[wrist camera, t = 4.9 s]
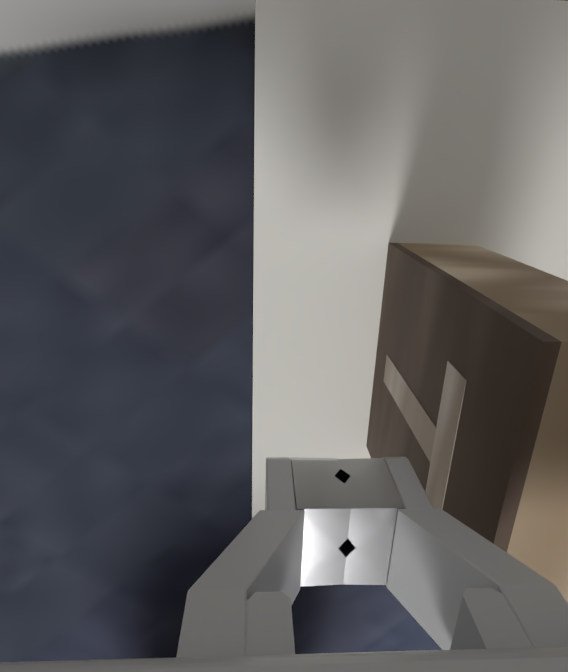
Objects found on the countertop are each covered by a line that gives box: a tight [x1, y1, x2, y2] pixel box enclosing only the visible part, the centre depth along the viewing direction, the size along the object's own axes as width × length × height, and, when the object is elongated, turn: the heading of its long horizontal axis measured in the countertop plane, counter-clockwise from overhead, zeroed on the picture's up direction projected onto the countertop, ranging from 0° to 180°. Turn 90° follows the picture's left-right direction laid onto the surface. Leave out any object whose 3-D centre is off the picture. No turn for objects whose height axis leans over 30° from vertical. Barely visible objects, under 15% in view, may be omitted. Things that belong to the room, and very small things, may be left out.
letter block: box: [366, 243, 568, 603], centre depth 13 cm, size 3×8×9 cm, turn 178°
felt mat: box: [252, 0, 568, 519], centre depth 17 cm, size 20×22×1 cm
